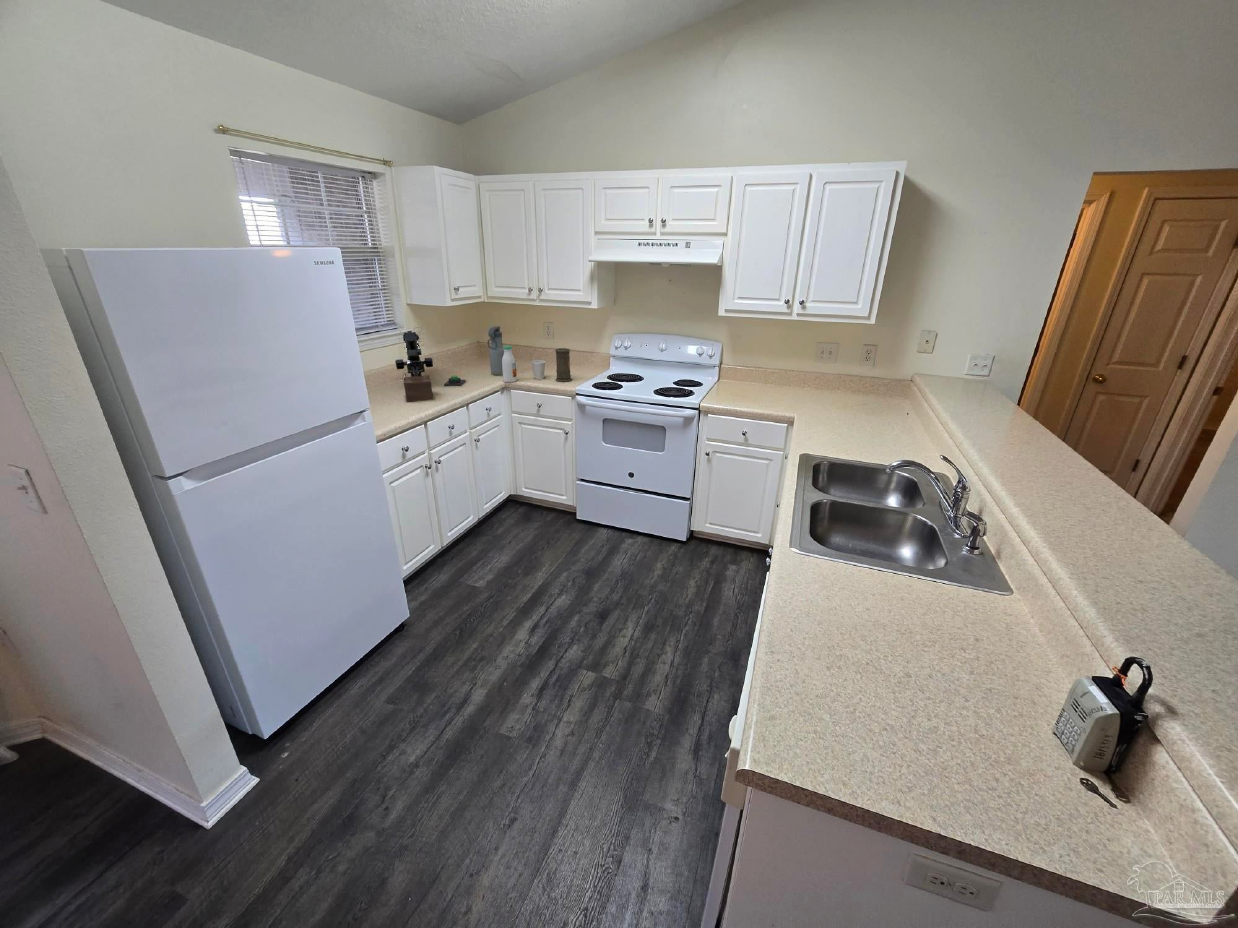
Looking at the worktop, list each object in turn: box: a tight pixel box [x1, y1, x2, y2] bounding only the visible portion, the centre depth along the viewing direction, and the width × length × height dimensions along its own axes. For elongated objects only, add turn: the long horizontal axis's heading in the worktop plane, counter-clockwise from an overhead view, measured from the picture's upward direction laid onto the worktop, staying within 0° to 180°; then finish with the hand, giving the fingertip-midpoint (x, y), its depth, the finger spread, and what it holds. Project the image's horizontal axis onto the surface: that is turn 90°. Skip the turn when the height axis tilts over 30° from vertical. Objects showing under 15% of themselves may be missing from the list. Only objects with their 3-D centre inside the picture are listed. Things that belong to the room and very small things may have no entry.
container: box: [554, 347, 572, 383], centre depth 295 cm, size 9×9×18 cm
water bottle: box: [487, 325, 504, 376], centre depth 307 cm, size 10×10×28 cm
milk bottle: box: [502, 345, 518, 383], centre depth 293 cm, size 8×8×20 cm
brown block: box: [403, 374, 434, 403], centre depth 261 cm, size 14×13×10 cm
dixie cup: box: [530, 359, 547, 380], centre depth 301 cm, size 8×8×10 cm
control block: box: [443, 376, 466, 387], centre depth 289 cm, size 11×9×3 cm
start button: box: [450, 375, 459, 379], centre depth 288 cm, size 4×4×2 cm
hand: (416, 376), depth 274 cm, fingers closed
